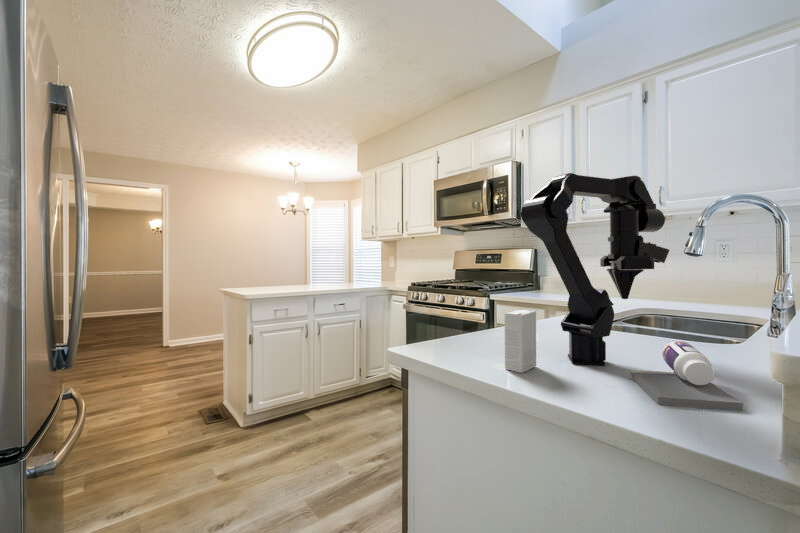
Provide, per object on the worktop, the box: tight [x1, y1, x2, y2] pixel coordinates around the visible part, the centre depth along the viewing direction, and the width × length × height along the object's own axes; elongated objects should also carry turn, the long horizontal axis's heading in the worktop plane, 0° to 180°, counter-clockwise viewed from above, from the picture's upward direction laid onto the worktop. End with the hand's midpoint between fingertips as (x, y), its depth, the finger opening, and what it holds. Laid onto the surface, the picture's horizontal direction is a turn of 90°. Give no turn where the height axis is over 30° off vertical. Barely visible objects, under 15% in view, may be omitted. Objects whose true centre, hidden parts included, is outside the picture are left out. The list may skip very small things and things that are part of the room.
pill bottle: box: [661, 340, 715, 385], centre depth 66 cm, size 5×5×10 cm
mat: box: [630, 369, 744, 412], centre depth 63 cm, size 11×13×2 cm
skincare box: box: [504, 309, 537, 374], centre depth 78 cm, size 6×4×12 cm
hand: (624, 298), depth 87 cm, fingers closed
